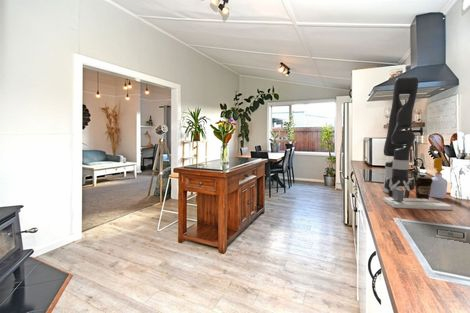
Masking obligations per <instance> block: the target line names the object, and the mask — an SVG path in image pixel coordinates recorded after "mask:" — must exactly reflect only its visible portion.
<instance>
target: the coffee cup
mask: <svg viewBox="0 0 470 313" xmlns="http://www.w3.org/2000/svg"><path fill="white" fill-rule="evenodd" d="M432 181H433V180H432V177H428V176H427V177H426V176H418V177H417V178H415V199H430V196H429V194H430V191H431V183H432Z"/></svg>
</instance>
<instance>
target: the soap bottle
mask: <svg viewBox="0 0 470 313" xmlns="http://www.w3.org/2000/svg"><path fill="white" fill-rule="evenodd" d="M444 160H446V158H445V157H436V158H434V159H433V169H434V170H435V171H436V172H435V174H434V176H433V177H431V178H432V180H433V181H432V183H431V191H430V194H429V198H432V199H446V198H447V191H448V190H447V189H448V180H447V179H446V178H444V177H443V173H441V172H442V171H445V168H443V161H444Z"/></svg>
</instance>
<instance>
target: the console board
mask: <svg viewBox="0 0 470 313" xmlns="http://www.w3.org/2000/svg"><path fill="white" fill-rule="evenodd" d="M382 202H384V203H385V204H387V205H389V206H390V207H392V208H395V209H396V208H397V209H419V210H420V209H421V210H422V209H423V210H445V211H446V210H447V211H451V210H452V205H450V204H448V203H445V202H443V201H441V200H437V199H436V198H429V199H418V198H412V197H408V198H406V197H404V198H403V201H396V200H394V199H393V197H385V196H384V197H382Z"/></svg>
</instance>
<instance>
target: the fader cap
mask: <svg viewBox="0 0 470 313" xmlns="http://www.w3.org/2000/svg"><path fill="white" fill-rule="evenodd" d="M392 198H393V199H394V200H396V201H403V198H405V189H404V190H403V189H401V188H400V189H399V188H393V194H392Z"/></svg>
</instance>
